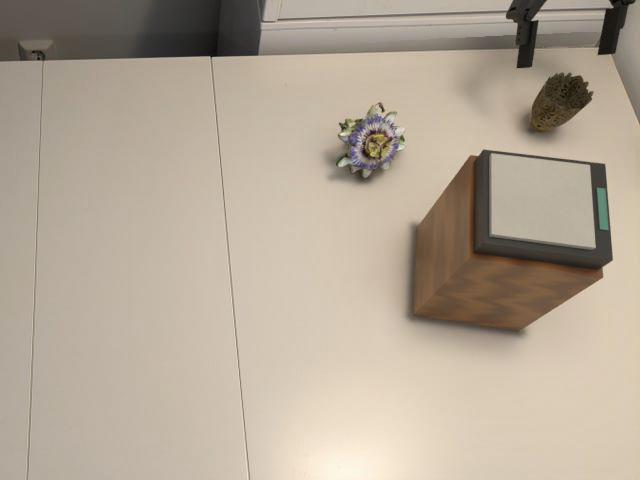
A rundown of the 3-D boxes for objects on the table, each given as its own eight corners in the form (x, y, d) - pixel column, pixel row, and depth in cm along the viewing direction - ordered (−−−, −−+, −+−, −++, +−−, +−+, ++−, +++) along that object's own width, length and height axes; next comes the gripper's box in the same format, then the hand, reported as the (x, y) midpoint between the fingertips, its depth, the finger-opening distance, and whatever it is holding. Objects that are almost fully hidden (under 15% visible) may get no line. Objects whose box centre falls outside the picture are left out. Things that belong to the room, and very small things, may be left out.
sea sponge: (511, 110, 98) (539, 74, 91) (552, 105, 98) (583, 68, 91) (525, 144, 96) (554, 110, 88) (567, 139, 96) (600, 104, 88)
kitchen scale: (592, 175, 73) (608, 160, 70) (598, 269, 68) (617, 258, 66) (474, 161, 74) (485, 146, 71) (473, 252, 70) (485, 240, 67)
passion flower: (355, 192, 100) (338, 178, 90) (334, 139, 102) (315, 119, 92) (419, 160, 94) (409, 141, 84) (395, 104, 96) (383, 78, 86)
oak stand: (517, 240, 90) (595, 169, 73) (519, 331, 85) (603, 277, 68) (416, 227, 92) (470, 154, 74) (412, 315, 87) (469, 259, 70)
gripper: (653, -110, 83) (620, 50, 93) (491, -84, 83) (475, 74, 92) (701, -127, 77) (661, 47, 86) (525, -99, 76) (504, 72, 86)
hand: (565, 61), depth 89 cm, fingers open, 13 cm apart
